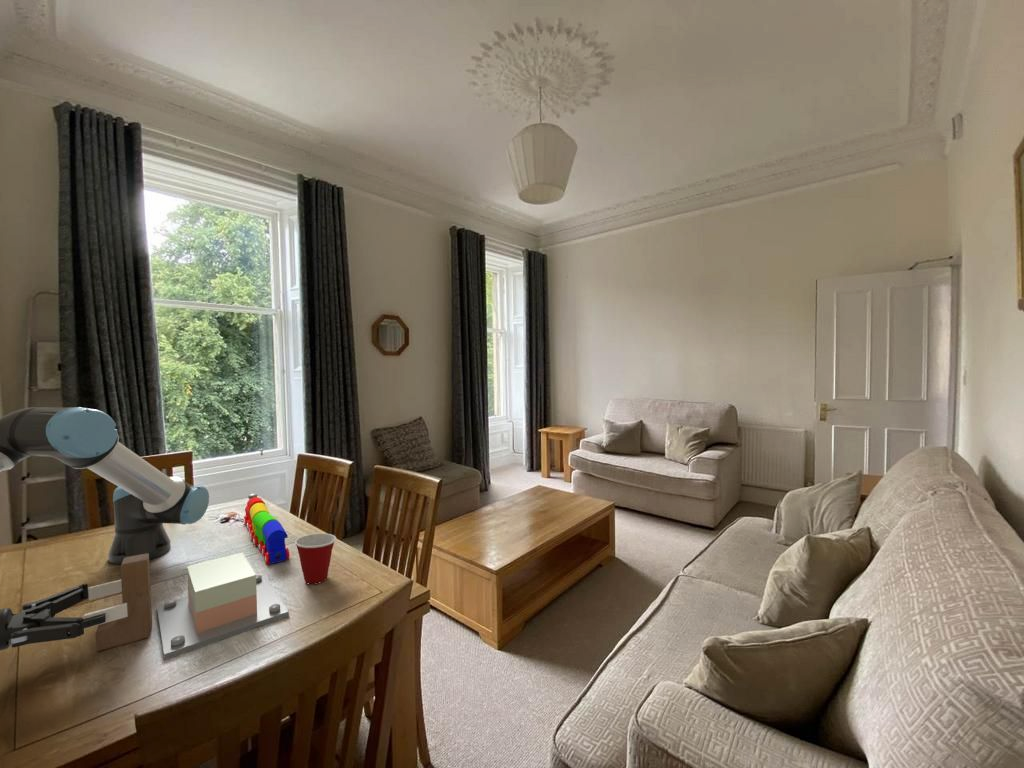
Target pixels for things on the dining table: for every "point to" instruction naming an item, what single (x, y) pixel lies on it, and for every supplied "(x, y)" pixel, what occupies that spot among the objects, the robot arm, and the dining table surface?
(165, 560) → the dining table surface
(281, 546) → the toy train
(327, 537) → the plastic cup
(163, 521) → the robot arm
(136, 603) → the wooden block
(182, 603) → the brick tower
